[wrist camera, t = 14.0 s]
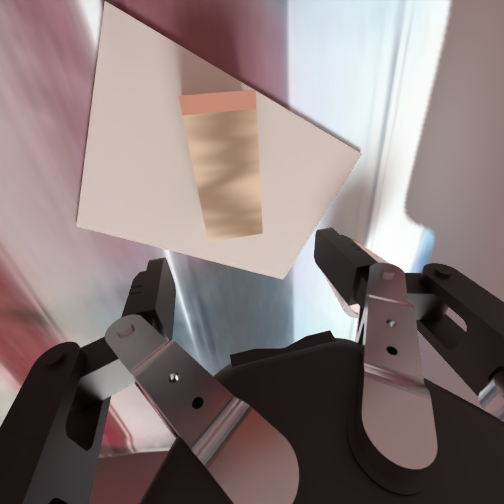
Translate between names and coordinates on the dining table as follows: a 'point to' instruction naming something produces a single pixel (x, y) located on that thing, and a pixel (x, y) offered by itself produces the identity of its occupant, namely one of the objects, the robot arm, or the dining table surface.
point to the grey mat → (179, 159)
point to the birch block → (225, 161)
